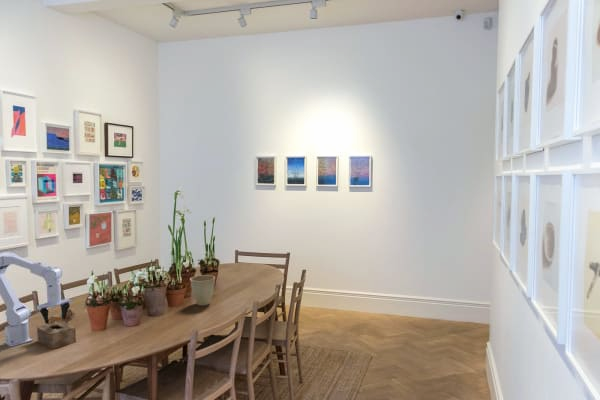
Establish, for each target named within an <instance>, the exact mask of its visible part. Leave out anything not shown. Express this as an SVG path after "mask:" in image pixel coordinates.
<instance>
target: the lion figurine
mask: <svg viewBox="0 0 600 400" xmlns="http://www.w3.org/2000/svg"><path fill="white" fill-rule="evenodd" d="M75 316H76V309H74V308H69V309H68V311H67V314H66V318H65V319H62V314H61V315H51V316H50V317H48V324H50V323H54V322H58V321H63V322H65V323H67V324H69V322H70V321H72V320H73V319H74V318H75Z"/></svg>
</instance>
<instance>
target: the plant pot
mask: <svg viewBox="0 0 600 400" xmlns="http://www.w3.org/2000/svg"><path fill="white" fill-rule="evenodd" d="M215 281H216V277H215V276H214V275H209V274H208V275H207V274H206V275H205V274H204V275H196V276H192V277H190V278H189V282H190V286H191V287H190V288H191V291H192V294H193V298H194V301H195V302H196V304H197V306H207V305H209V304H210V302H211V300H212V297H213V293H214V288H215Z"/></svg>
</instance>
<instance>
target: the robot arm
mask: <svg viewBox="0 0 600 400" xmlns="http://www.w3.org/2000/svg"><path fill="white" fill-rule="evenodd" d="M11 265H15V266H18V267H20V268H24V269H27V270H29V272H30V273H31V274H33V275H36V276H38V277H41V278H43V279H44V281H45V284H46V297H47V301H46V302H45V303H41V304H38V305H36V310H37V311H39V312H40V314H41V315H42V318H43V320H44V324H45V325H46V324H48V319H49V310H48V309H50V308H54V307H58V306H60V310H61V315H62V319H65V318H66V314H67V311H68V310H69V309H70V307H71V304H72V299H71V298H66V299H64V298H63V299H62V294H61V293H62V289H61V278H62V276H63V271H62V269H61V268H59V267H57V266H53V267H52V266H51V265H46V264H44V263H43V262H42V261H36V262H33V261H30V260H28V259H26V258H23V257H22V256H19V255H17V254H16V253H15V252H11V251H8V250H6V251H2V252H0V297H1V298H2V300H3V303H4V305H5V306H6V310H5V313H4V314H5V316H6V322H7V324H8V325H7V326H5V328H4V344H5V345H7V346H9V347H15V346H17V345H22V344H25V343H28V342H29V343H30V342H32V341H33V339H32V338H30V334H29V333H30V332H29V331H30V329H29V319H30V318H31V315H32V312H31V309H29V308H28V307H27V306H26V304H25V303H23V302H21V301H20V299H19V297H18V296H17V294H16V292H15V291H14V288H13V286H12V284H11V283H10V281H9V278H8V277H7V275H6V271H7V269H8V267H9V266H11Z"/></svg>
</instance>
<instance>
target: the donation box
mask: <svg viewBox="0 0 600 400" xmlns="http://www.w3.org/2000/svg"><path fill="white" fill-rule="evenodd" d="M49 323H50V322H49ZM36 329H37V333H36V334H37V342H39V343H40V344H42V345H44V346H45V347H47V348H49V349H51V350H53V349H57V348H59V347H62V346H66V345H69V344H73V343H76V342H77V341H76V340H77V337H76V334H77V333H76V327H75V326H73V325H71V324H69V323H68V324H67V323H65V322H63V321H58V322H56V321H55V322H54V323H50V324H46V323H45V324H43V325H38V326H37V327H36ZM54 329H56V330H54Z"/></svg>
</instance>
